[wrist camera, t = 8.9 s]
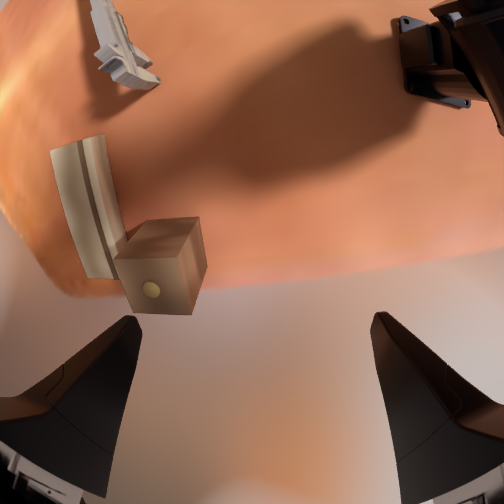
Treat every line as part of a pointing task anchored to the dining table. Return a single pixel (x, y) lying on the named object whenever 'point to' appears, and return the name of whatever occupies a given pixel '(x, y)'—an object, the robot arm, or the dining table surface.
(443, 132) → the dining table surface
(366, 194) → the dining table surface
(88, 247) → the board
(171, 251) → the brown block with knob
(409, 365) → the robot arm
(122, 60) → the caliper
